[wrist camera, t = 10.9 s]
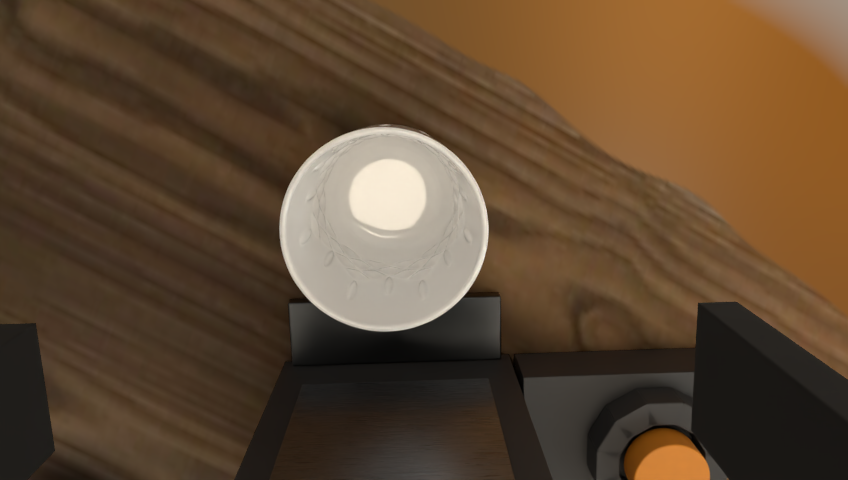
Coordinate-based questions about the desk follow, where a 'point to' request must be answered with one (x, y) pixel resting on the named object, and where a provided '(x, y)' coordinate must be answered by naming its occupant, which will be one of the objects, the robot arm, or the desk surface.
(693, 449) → the button
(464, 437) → the coffee machine
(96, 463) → the desk surface
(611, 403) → the button base
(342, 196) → the white cup
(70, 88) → the desk surface
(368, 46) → the desk surface
